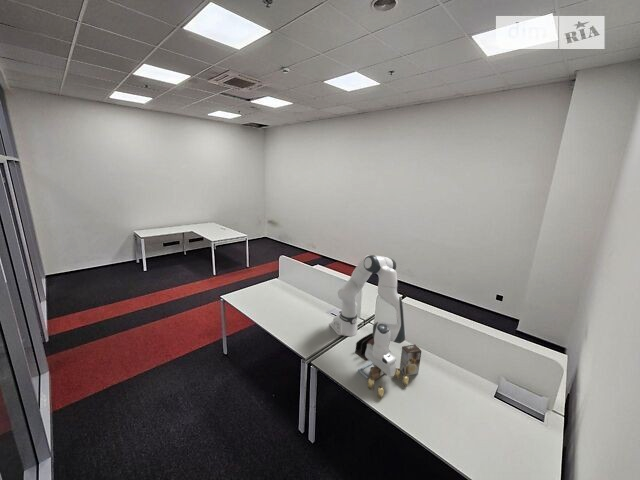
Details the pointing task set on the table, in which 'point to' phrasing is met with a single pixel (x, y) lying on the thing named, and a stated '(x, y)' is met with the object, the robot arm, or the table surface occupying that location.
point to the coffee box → (410, 360)
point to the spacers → (381, 389)
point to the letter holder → (364, 345)
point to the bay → (364, 368)
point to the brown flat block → (375, 372)
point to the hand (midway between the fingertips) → (378, 372)
